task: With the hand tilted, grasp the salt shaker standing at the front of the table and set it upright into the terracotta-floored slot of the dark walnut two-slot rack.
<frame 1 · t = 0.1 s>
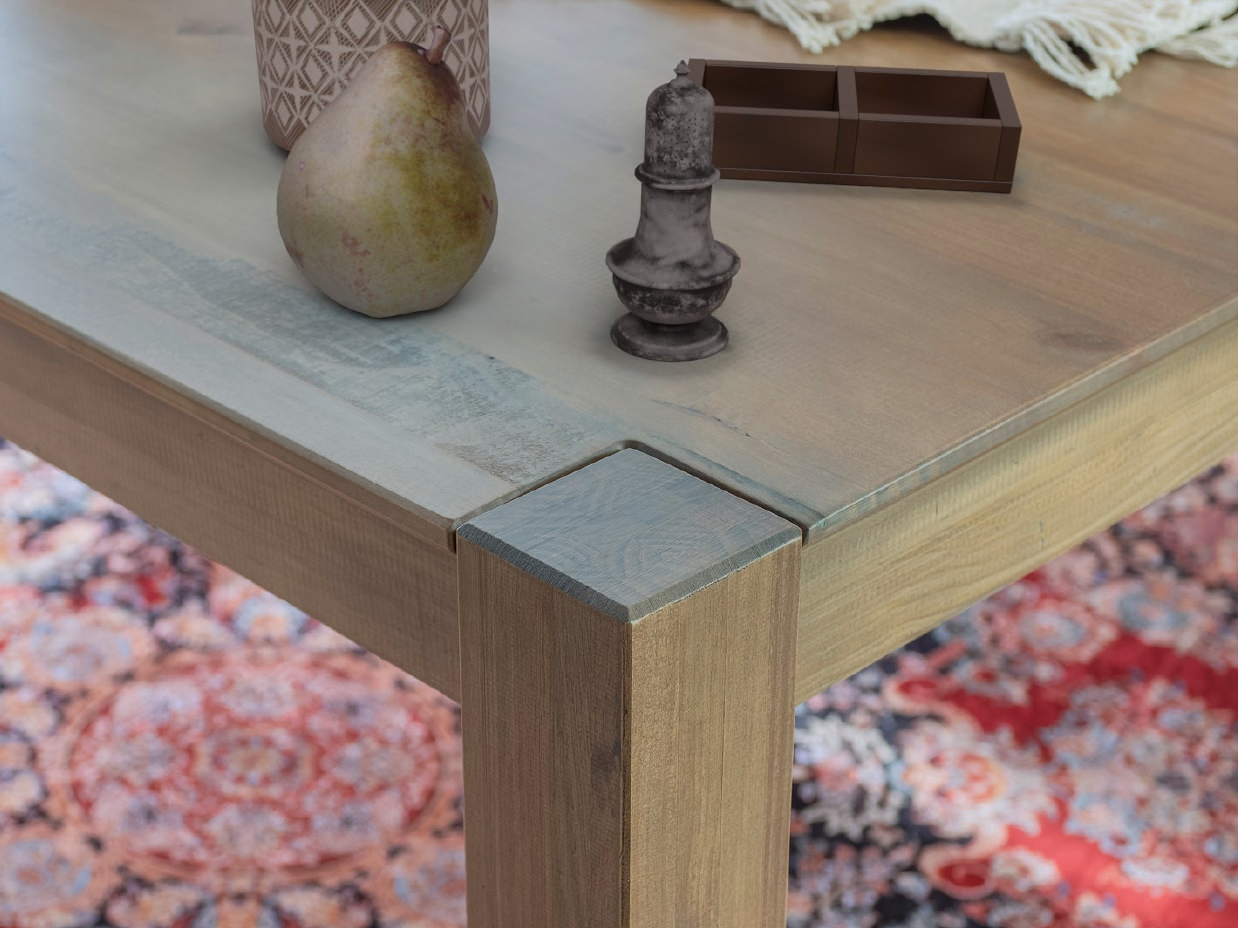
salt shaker: (669, 339, 74), on the table
fruit: (391, 304, 77), on the table
rack: (840, 154, 93), on the table
planter: (379, 147, 94), on the table
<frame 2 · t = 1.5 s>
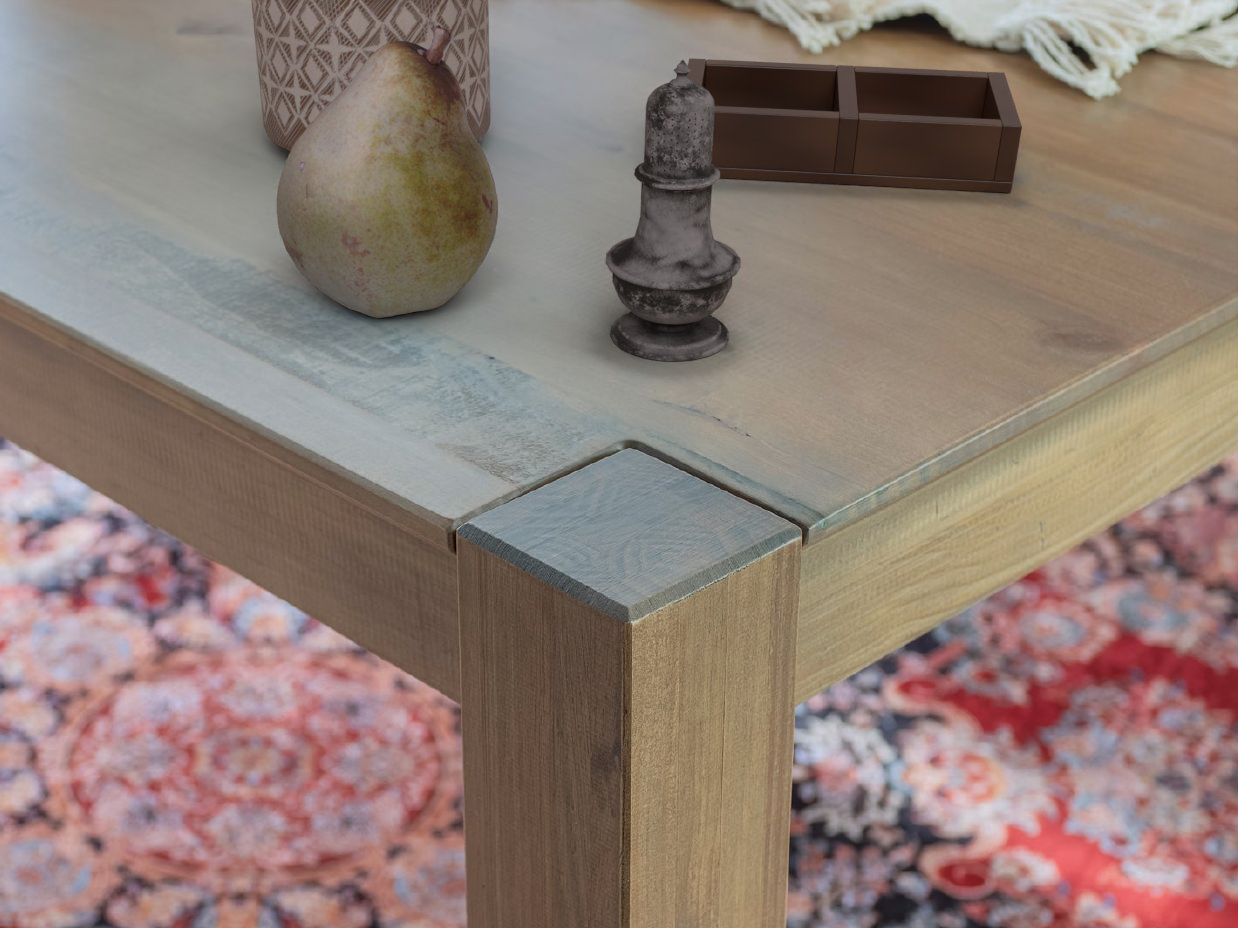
nothing on the table moved.
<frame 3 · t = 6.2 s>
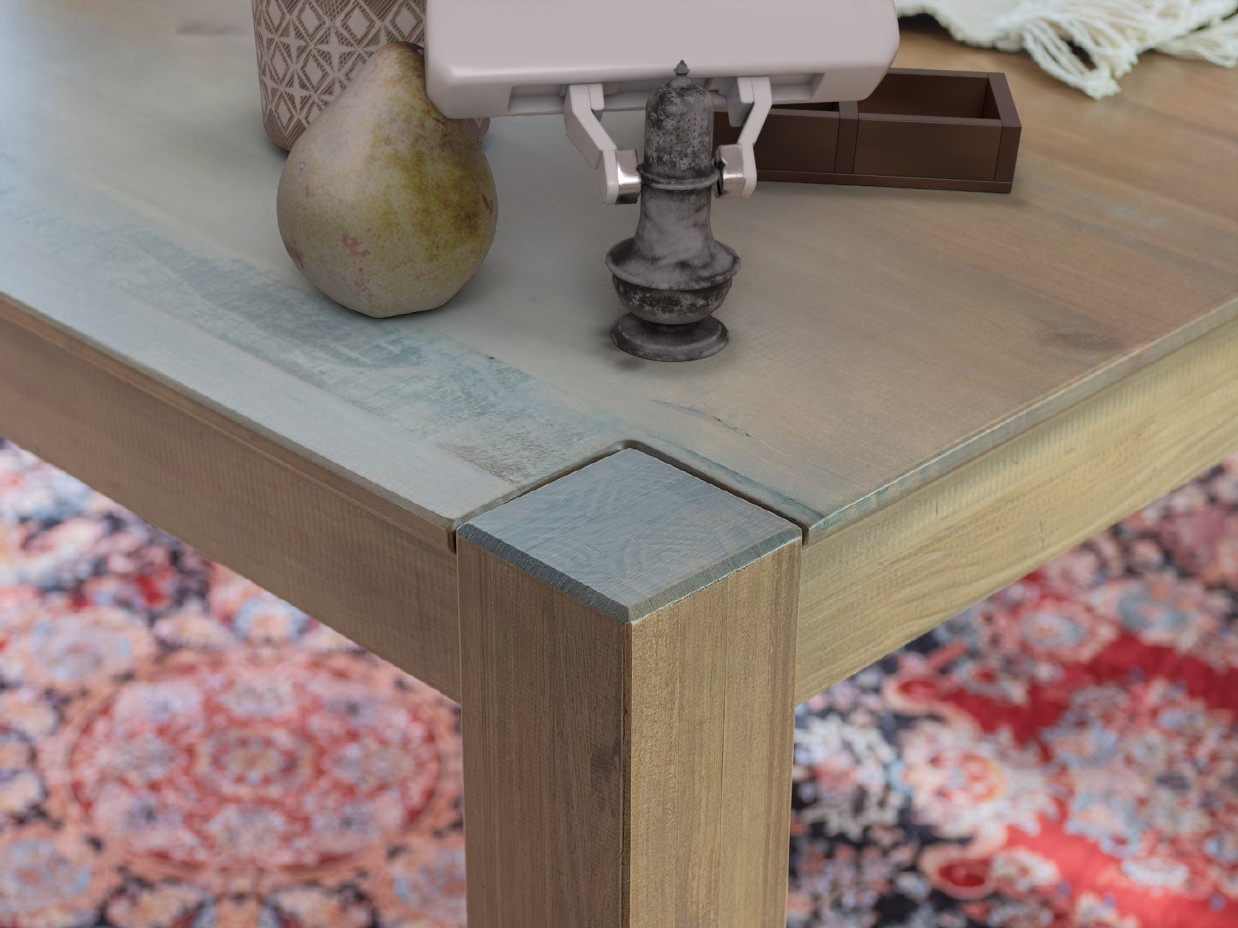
hand: (680, 196, 69), 7 cm above the table, tool tilted 45°, fingers closed on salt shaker, 3 cm apart
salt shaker: (669, 339, 74), on the table, touching gripper
everything else where it was.
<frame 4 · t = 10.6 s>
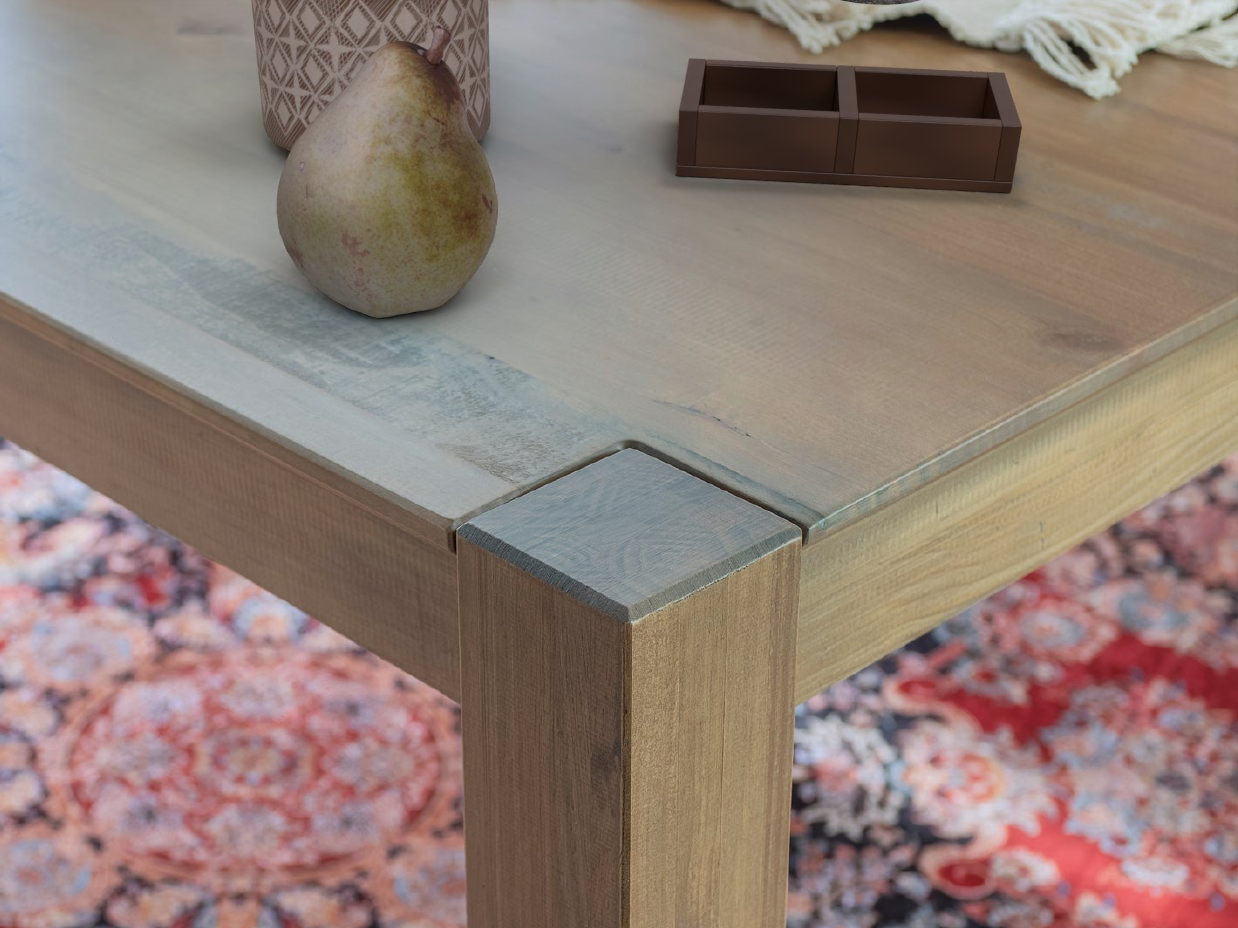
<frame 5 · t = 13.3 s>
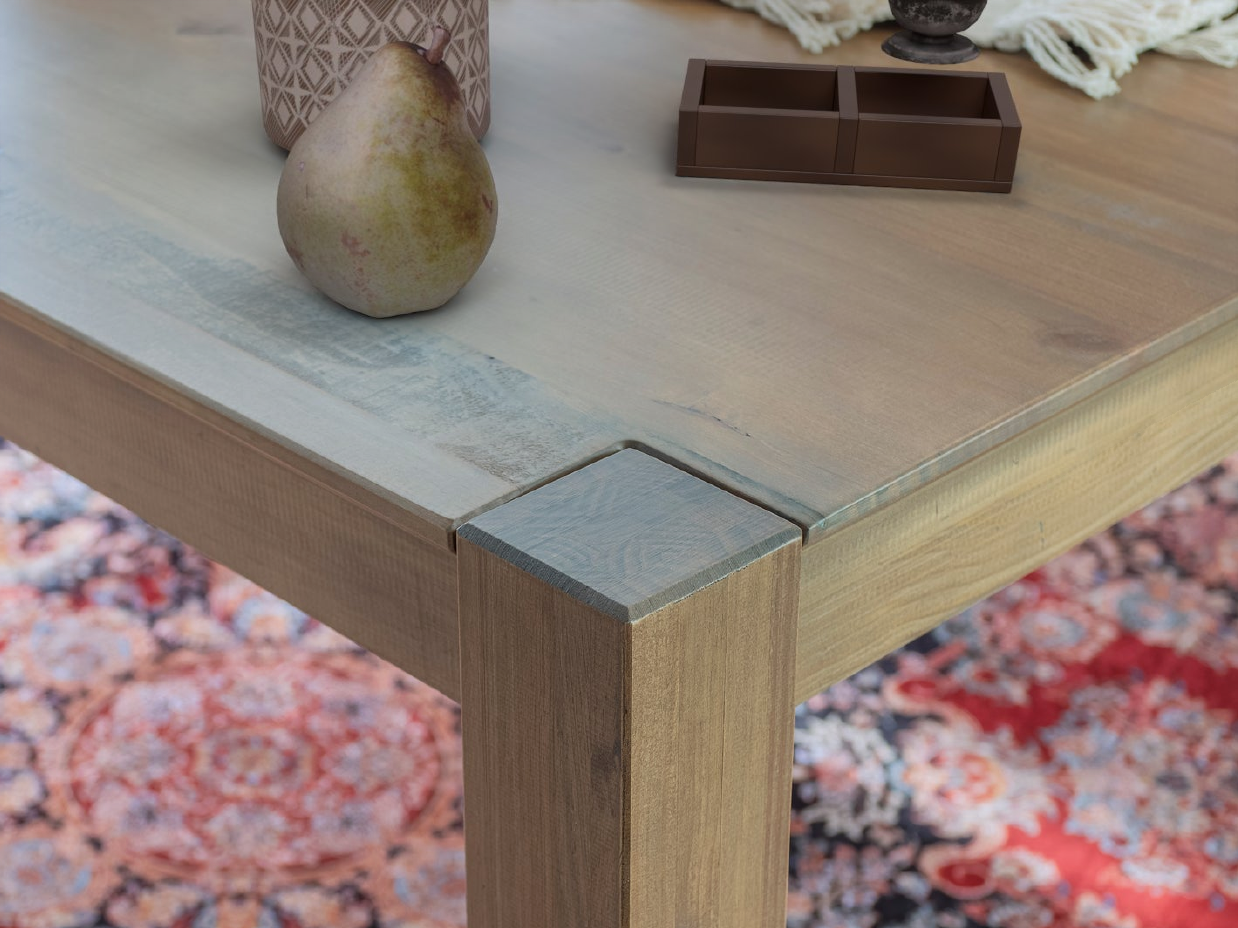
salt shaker: (929, 53, 90), point 6 cm above the table, touching gripper
everything else where it was.
when the fingers open (7 cm above the table, at t = 15.1 s): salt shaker stays where it is, resting on rack.
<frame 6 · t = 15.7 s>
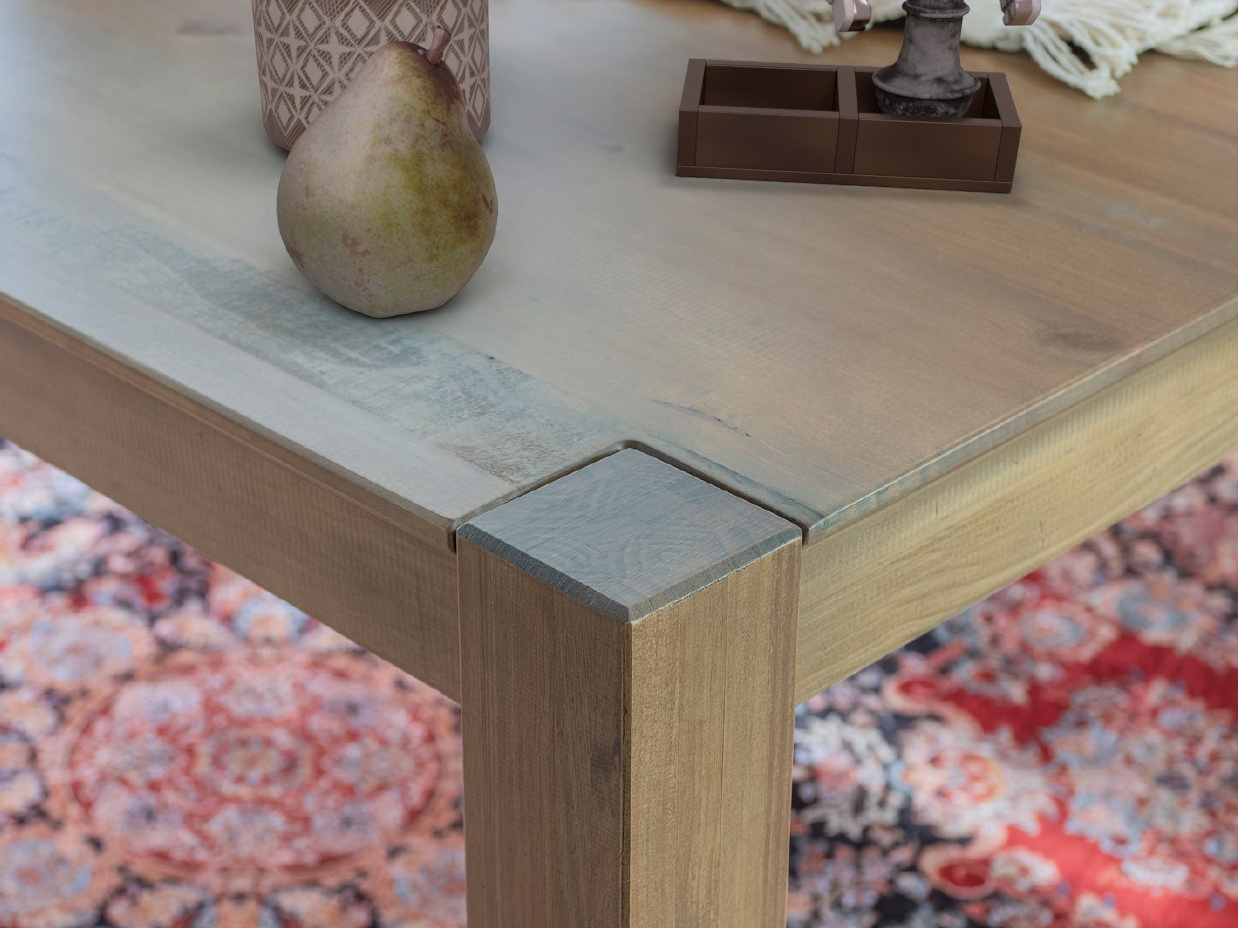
hand: (939, 23, 88), 8 cm above the table, tool tilted 45°, fingers open, 8 cm apart
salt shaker: (917, 147, 93), point 1 cm above the table, touching rack
everything else where it was.
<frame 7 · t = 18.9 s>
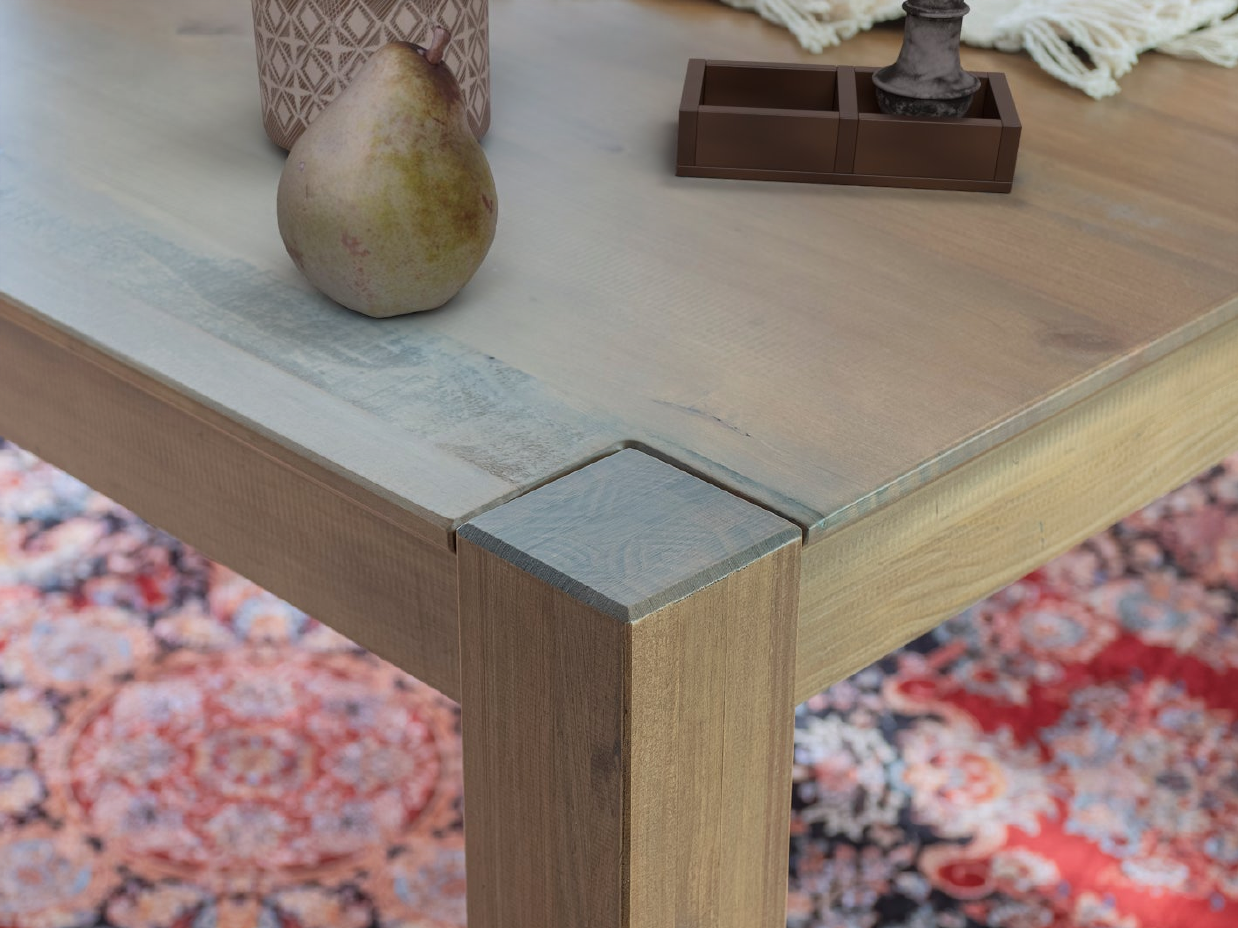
nothing on the table moved.
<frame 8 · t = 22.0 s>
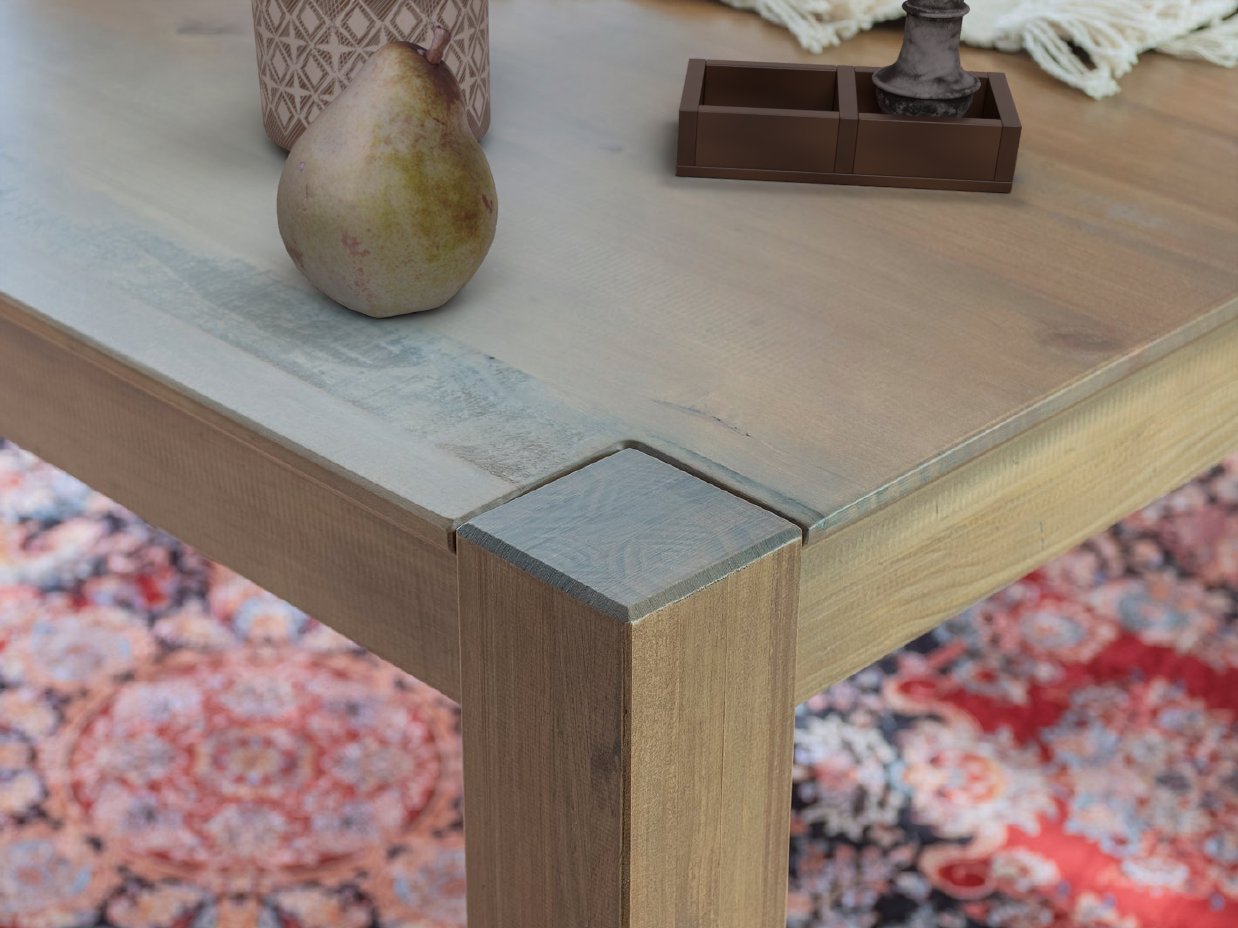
nothing on the table moved.
at the end: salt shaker 0.1 cm from the target spot in the rack, point 0.6 cm above the rack's base; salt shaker tilted 0°; the gripper is holding nothing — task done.
